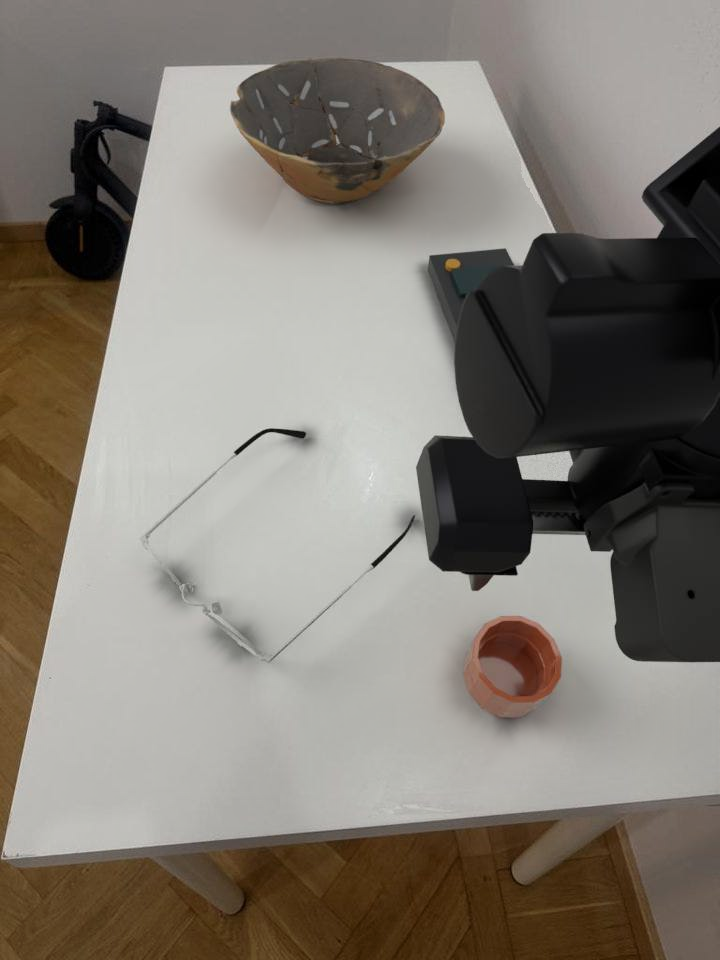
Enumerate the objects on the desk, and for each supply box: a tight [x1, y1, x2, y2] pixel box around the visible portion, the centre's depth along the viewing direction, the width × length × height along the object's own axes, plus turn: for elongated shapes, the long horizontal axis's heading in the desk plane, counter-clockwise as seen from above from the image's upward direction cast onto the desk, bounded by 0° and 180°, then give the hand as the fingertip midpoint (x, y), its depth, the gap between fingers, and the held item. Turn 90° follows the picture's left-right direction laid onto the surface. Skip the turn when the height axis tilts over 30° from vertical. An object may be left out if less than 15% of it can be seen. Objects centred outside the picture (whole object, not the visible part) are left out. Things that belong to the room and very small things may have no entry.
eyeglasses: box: [139, 427, 416, 664], centre depth 51 cm, size 16×19×5 cm
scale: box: [427, 247, 515, 343], centre depth 67 cm, size 22×9×3 cm, turn 10°
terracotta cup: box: [462, 615, 563, 718], centre depth 45 cm, size 6×6×4 cm
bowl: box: [229, 57, 446, 205], centre depth 78 cm, size 25×25×10 cm
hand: (549, 584), depth 37 cm, fingers open, 9 cm apart
